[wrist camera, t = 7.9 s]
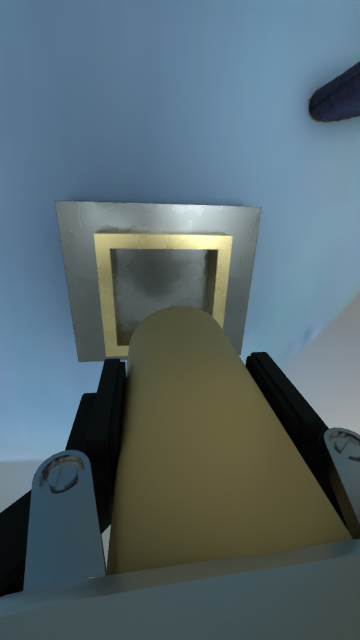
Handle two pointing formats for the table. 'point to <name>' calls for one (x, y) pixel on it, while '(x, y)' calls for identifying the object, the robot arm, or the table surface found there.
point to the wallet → (337, 98)
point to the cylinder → (205, 456)
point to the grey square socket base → (153, 267)
